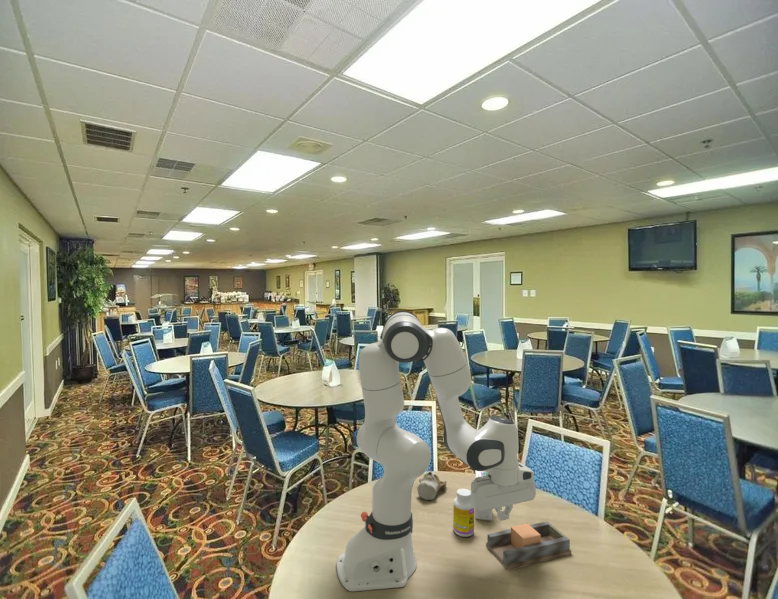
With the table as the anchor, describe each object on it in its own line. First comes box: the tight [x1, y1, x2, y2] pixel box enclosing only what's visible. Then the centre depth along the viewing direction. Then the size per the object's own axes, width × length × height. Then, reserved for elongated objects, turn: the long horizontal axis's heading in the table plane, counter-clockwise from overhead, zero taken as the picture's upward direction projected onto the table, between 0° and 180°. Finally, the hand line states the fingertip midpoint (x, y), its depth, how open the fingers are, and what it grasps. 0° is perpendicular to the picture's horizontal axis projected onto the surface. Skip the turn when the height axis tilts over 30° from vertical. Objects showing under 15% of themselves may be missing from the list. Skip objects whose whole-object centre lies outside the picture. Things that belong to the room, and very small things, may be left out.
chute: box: [485, 520, 572, 571], centre depth 116 cm, size 22×11×4 cm, turn 108°
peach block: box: [510, 522, 541, 548], centre depth 116 cm, size 6×6×5 cm
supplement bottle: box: [452, 488, 475, 538], centre depth 125 cm, size 7×7×13 cm
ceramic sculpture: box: [416, 471, 447, 501], centre depth 149 cm, size 11×9×15 cm
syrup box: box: [474, 470, 493, 521], centre depth 134 cm, size 6×6×14 cm
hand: (503, 518), depth 113 cm, fingers closed
